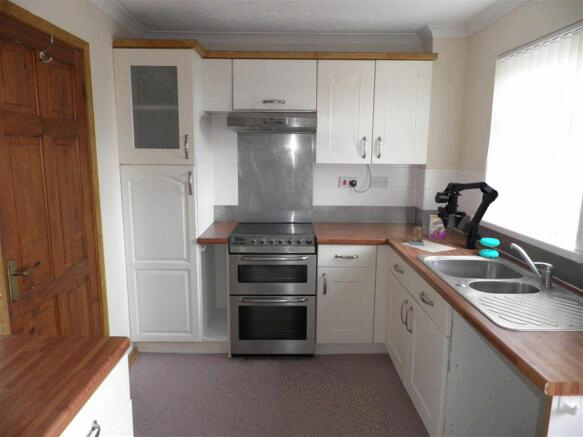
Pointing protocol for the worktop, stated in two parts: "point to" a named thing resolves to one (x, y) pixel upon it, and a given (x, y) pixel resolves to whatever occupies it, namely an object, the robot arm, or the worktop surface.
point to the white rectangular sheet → (430, 246)
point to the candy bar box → (436, 228)
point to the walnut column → (417, 234)
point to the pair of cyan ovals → (488, 251)
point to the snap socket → (417, 243)
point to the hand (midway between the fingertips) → (450, 228)
